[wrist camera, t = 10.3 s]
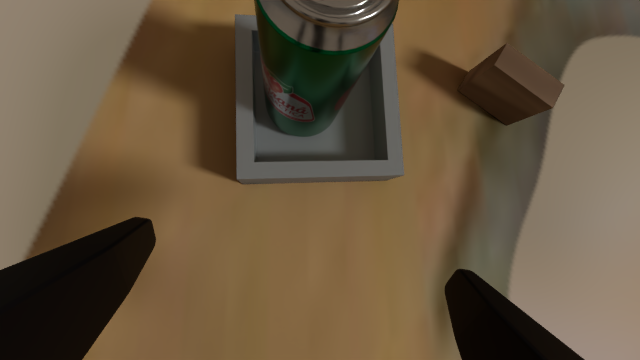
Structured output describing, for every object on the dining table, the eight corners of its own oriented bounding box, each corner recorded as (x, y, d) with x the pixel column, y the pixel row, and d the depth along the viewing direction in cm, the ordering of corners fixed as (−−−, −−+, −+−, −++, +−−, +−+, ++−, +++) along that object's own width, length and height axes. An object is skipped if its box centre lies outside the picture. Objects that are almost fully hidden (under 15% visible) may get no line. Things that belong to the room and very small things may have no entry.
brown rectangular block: (506, 125, 23) (552, 107, 19) (457, 90, 23) (494, 64, 19) (517, 106, 24) (564, 85, 20) (468, 71, 23) (507, 42, 20)
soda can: (250, 97, 20) (211, -72, 8) (306, 57, 21) (344, -144, 9) (296, 153, 20) (323, 67, 8) (350, 111, 21) (444, -20, 9)
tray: (386, 180, 21) (404, 175, 18) (242, 184, 20) (236, 179, 17) (377, 48, 22) (392, 23, 20) (241, 42, 21) (235, 14, 18)
